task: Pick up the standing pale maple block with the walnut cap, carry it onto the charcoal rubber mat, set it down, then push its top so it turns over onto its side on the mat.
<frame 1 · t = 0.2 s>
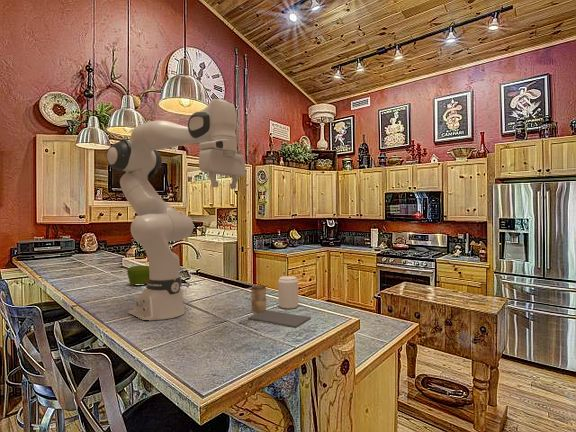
hand: (224, 188, 115), 47 cm above the counter, fingers open, 8 cm apart
beverage can: (288, 307, 139), on the counter
maple block: (258, 311, 132), on the counter
rubber mat: (279, 319, 123), on the counter
green pot: (140, 285, 188), on the counter
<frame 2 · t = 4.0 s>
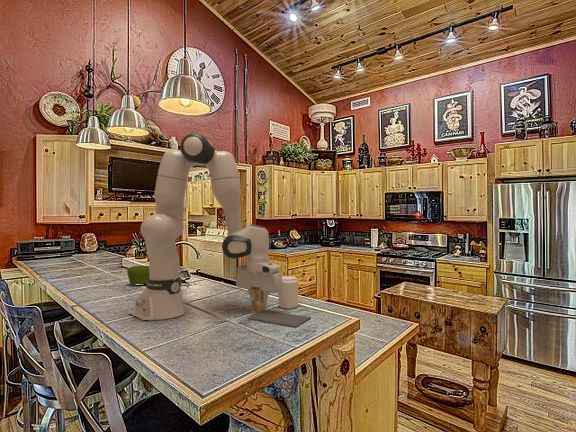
hand: (258, 301, 132), 4 cm above the counter, fingers closed on maple block, 4 cm apart
maple block: (258, 311, 132), on the counter, touching gripper
everything else where it was.
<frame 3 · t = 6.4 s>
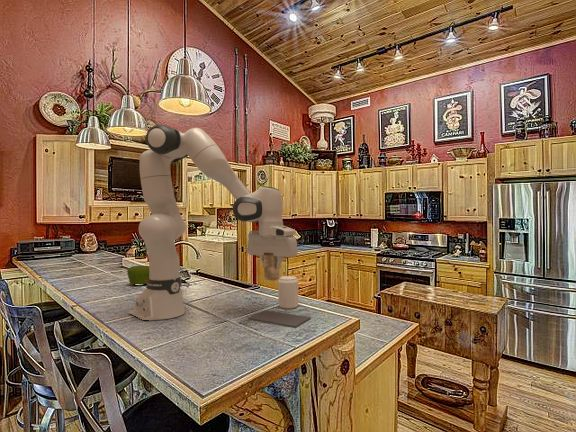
hand: (271, 268, 124), 18 cm above the counter, fingers closed on maple block, 4 cm apart
maple block: (271, 279, 124), point 14 cm above the counter, touching gripper
everything else where it was.
when the fingers open (6 cm above the counter, at t = 8.9 s): maple block stays where it is, resting on rubber mat.
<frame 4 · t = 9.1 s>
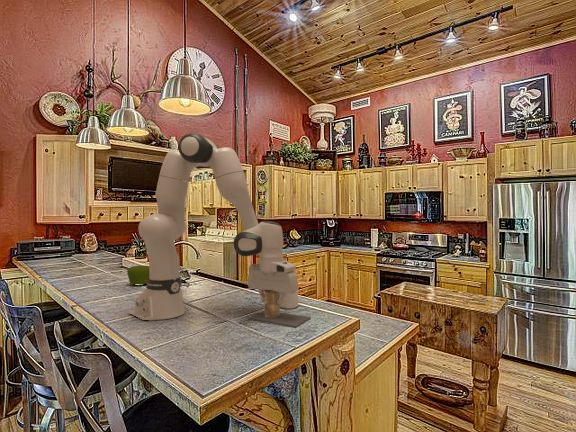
hand: (272, 302, 124), 6 cm above the counter, fingers open, 5 cm apart
maple block: (272, 316, 124), point 1 cm above the counter, touching rubber mat
everything else where it was.
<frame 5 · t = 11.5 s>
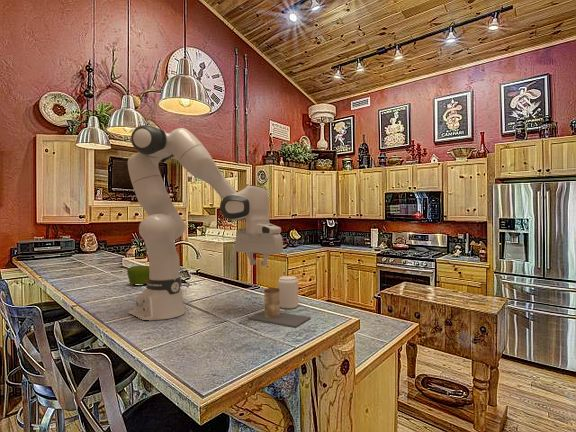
hand: (258, 265, 127), 19 cm above the counter, fingers open, 4 cm apart
nothing on the counter moved.
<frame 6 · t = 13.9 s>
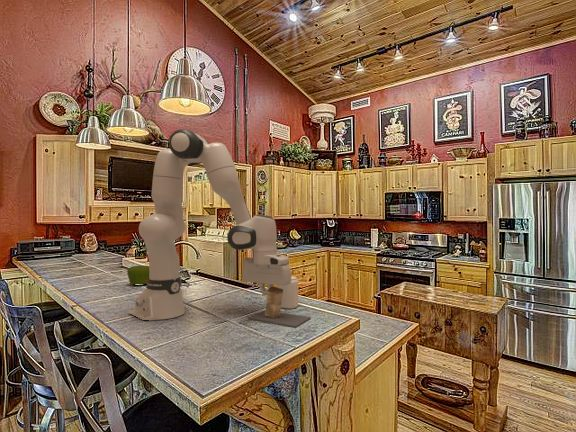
hand: (266, 295, 126), 8 cm above the counter, fingers closed
maple block: (272, 315, 124), point 1 cm above the counter, tilted 10°, touching rubber mat
everything else where it was.
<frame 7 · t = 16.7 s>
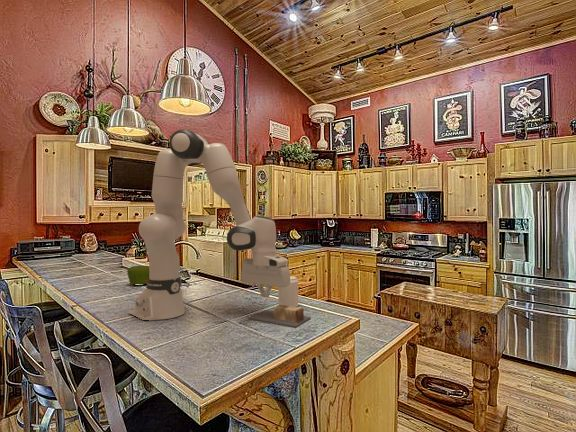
hand: (264, 296, 126), 8 cm above the counter, fingers closed
maple block: (276, 311, 123), point 3 cm above the counter, tilted 90°, touching rubber mat
everything else where it was.
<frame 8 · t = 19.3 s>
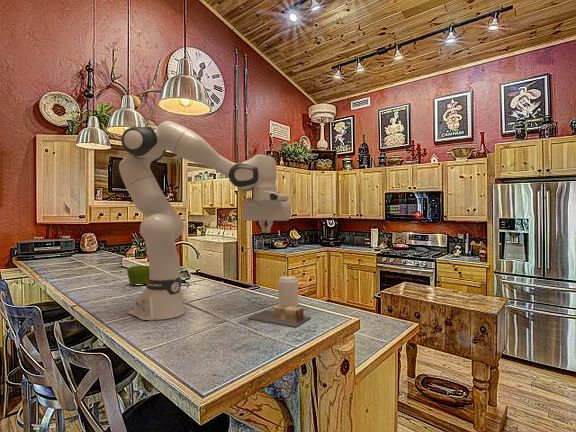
hand: (266, 232, 130), 31 cm above the counter, fingers closed
nothing on the counter moved.
at the end: maple block tilted 90°; maple block inside the target area on the rubber mat (2.0 cm from its centre), point 2.6 cm above the rubber mat's base; the gripper is holding nothing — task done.
